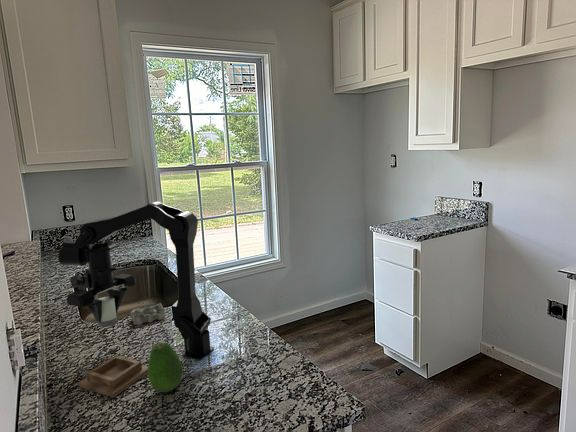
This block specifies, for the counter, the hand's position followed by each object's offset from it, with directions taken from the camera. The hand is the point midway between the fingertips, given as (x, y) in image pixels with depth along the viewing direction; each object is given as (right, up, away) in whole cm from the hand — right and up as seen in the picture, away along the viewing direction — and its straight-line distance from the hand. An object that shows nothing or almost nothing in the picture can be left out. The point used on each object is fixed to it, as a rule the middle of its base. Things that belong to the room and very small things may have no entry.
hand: (106, 317), depth 112 cm
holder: (+8, -12, -13) cm, 19 cm away
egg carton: (+4, -6, +22) cm, 24 cm away
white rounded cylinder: (0, -2, 0) cm, 2 cm away
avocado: (+23, -13, -18) cm, 32 cm away
